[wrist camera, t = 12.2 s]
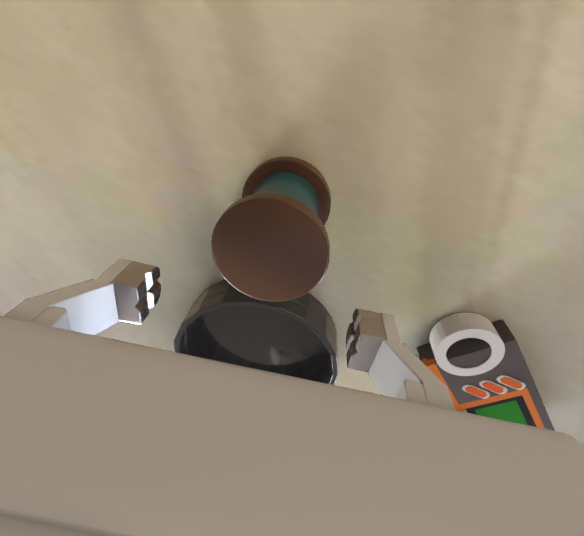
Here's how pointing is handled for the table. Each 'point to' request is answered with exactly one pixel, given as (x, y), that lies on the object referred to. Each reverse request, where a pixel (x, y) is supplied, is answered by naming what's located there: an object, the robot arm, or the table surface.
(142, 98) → the table surface
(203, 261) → the table surface
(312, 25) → the table surface
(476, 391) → the electronic device
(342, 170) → the table surface
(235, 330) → the pan
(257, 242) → the spool
